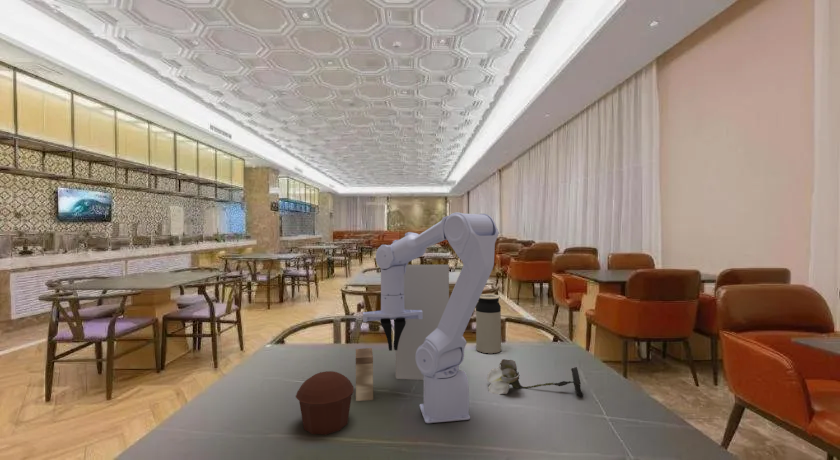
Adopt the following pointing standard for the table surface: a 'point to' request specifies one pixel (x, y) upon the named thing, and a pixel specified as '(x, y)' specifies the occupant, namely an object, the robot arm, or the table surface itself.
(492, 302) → the travel mug
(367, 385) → the maple block
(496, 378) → the artificial flower
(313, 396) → the muffin
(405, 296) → the tall grey block
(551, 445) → the table surface
